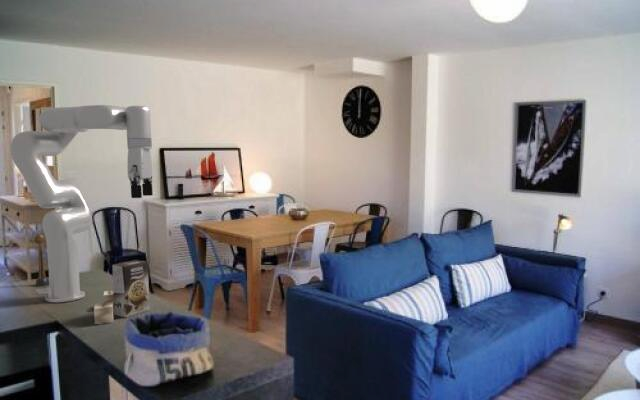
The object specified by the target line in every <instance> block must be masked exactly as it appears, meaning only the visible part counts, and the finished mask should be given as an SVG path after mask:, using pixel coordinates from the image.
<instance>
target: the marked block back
mask: <svg viewBox="0 0 640 400" xmlns="http://www.w3.org/2000/svg"><path fill="white" fill-rule="evenodd" d="M111 302H113V310H114V296H113V290H104V291H103V303H111Z"/></svg>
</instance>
